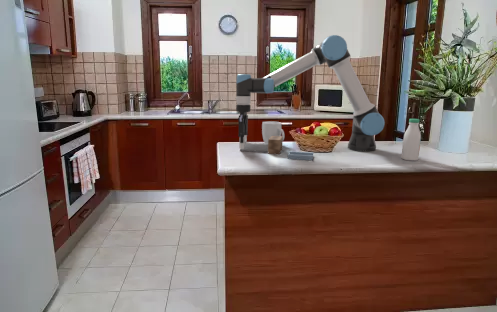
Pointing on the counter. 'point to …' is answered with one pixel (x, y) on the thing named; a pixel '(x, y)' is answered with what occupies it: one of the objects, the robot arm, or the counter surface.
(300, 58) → the robot arm
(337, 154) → the counter surface
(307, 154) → the cradle
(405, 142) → the milk bottle
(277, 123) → the mug
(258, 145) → the shaft
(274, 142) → the bearing block
